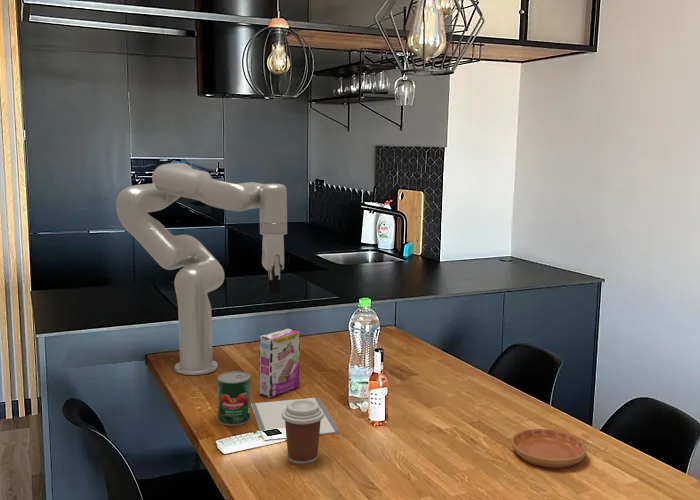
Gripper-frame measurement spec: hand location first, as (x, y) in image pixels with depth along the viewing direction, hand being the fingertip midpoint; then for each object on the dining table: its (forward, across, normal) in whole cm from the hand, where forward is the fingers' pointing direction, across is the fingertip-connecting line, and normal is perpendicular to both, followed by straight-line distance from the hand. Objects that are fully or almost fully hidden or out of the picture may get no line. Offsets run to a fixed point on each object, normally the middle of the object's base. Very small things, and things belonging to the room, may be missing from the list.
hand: (274, 293), depth 193 cm
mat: (+26, +29, 0) cm, 38 cm away
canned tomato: (+26, +26, -15) cm, 39 cm away
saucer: (+27, +62, +50) cm, 84 cm away
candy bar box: (+26, +10, 0) cm, 27 cm away
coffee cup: (+26, +50, -2) cm, 56 cm away
